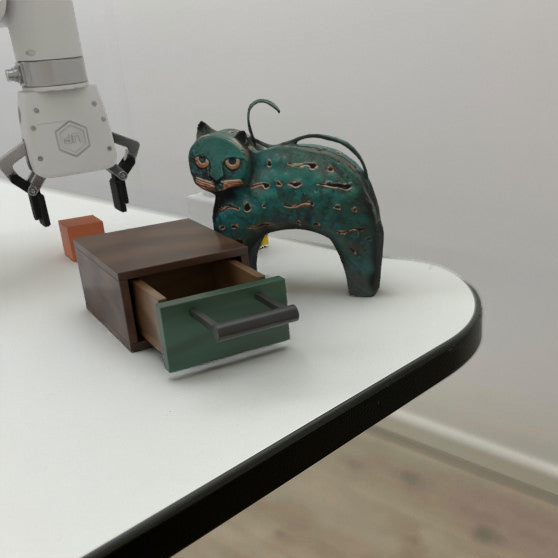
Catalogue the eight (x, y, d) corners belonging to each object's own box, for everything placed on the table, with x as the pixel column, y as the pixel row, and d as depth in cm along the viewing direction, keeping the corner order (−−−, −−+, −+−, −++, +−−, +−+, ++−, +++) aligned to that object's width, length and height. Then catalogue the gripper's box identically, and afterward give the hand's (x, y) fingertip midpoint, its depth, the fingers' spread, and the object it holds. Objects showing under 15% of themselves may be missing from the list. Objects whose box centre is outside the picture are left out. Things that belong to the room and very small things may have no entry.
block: (73, 262, 97) (66, 227, 95) (64, 254, 100) (57, 220, 99) (109, 255, 99) (102, 221, 97) (98, 247, 103) (92, 214, 101)
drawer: (326, 362, 64) (322, 297, 62) (199, 401, 59) (189, 331, 56) (227, 299, 79) (221, 245, 77) (118, 325, 74) (108, 268, 71)
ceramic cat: (201, 292, 84) (176, 102, 76) (225, 274, 90) (205, 95, 82) (376, 302, 79) (370, 100, 71) (390, 282, 85) (386, 93, 77)
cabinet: (255, 320, 76) (247, 246, 73) (131, 352, 70) (117, 273, 67) (197, 283, 87) (189, 217, 84) (86, 308, 81) (72, 238, 78)
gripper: (-19, 85, 84) (19, 237, 91) (134, 69, 92) (159, 210, 99) (-30, 81, 89) (7, 225, 97) (115, 67, 98) (139, 200, 105)
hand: (84, 217), depth 98 cm, fingers open, 9 cm apart
